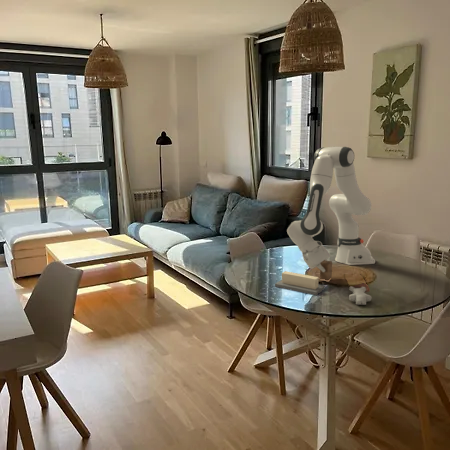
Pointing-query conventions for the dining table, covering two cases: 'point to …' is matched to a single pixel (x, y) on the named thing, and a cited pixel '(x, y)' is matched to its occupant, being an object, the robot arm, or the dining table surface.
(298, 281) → the stand
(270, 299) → the dining table surface
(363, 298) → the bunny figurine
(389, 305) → the dining table surface
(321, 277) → the walnut pillar
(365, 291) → the wooden tablet
